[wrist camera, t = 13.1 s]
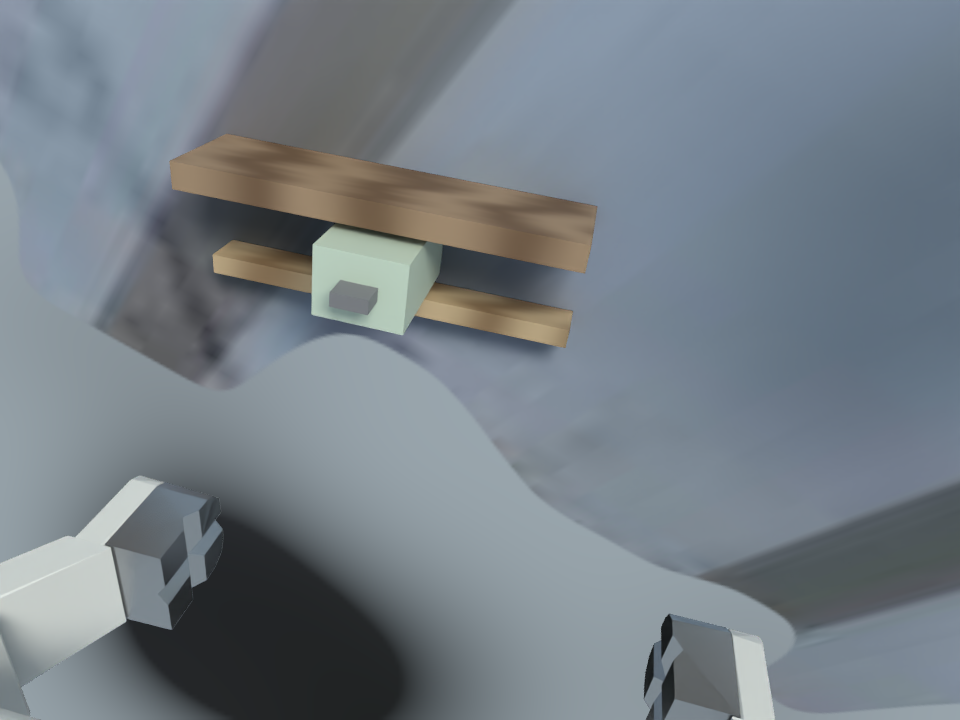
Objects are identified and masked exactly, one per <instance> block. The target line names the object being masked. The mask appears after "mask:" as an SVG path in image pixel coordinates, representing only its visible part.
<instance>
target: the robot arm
mask: <svg viewBox="0 0 960 720" xmlns="http://www.w3.org/2000/svg"><path fill="white" fill-rule="evenodd" d="M220 513H221V508H220V501H219V498H216V497H214V496H211V495H208V494H204V493H201V492H197V491H194V490H190V489H187V488H184V487H180V486H176V485H173V484H170V483H166V482H162V481H158V480H155V479H151V478H147V477H144V476H138V477H135V478H133V479H131V480H130V481H129V482H128V483H127V484H126V485H125V486H124V487H123V488H122V489H121V490H120V491H119V492H118V493H117V494H116V496H114V497H113V498H112V499H111V501H110V502H109V503H108V504H107V505H106V506H105V507H104V508H103V509H102V510H101V511H100V512H99V513H98V514H97V515H96V516H95V517H94V518H93V519H92V520H91V521H90V522H89V523H88V524H87V525H86V526H85V527H84V528H83V530H82V531H81V532H80V533H79V534H78V535H77V536H76V537H71V536H65V537H63V538H60V539H58V540H55V541H53V542H50V543H48V544H46V545H43V546H41V547H38V548H36V549H34V550H31V551H29V552H26V553H24V554H21V555H19V556H17V557H14V558H12V559H9V560H7V561H4V562H2V563H0V720H39V719H36V718H33V717H30V710H29V707H28V705H27V702H26V699H25V697H24V694H23V691H22V689H21V687H22V686H24V685H25V684H27V683H29V682H30V681H32V680H33V679H35V678H37V677H38V676H40V675H42V674H43V673H44V672H46V671H48V670H50V669H51V668H53V667H54V666H56V665H58V664H59V663H61V662H62V661H64V660H65V659H67V658H69V657H70V656H72V655H73V654H75V653H77V652H78V651H80V650H81V649H83V648H85V647H86V646H88V645H89V644H91V643H92V642H94V641H95V640H97V639H99V638H100V637H102V636H104V635H105V634H107V633H109V632H110V631H112V630H113V629H115V628H117V627H118V626H120V625H121V624H123V623H124V622H126V619H130V620H135V621H139V622H142V623H146V624H150V625H155V626H158V627H163V628H166V629H171V630H172V629H173V628H174V626H175V625H176V623H177V622H178V620H179V619H180V618H181V616H182V615H183V613H184V611H185V610H186V609H187V607H188V606H189V605H190V603H191V602H192V600H193V595H192V587H194V586H196V585H198V584H199V583H201V582H204V581H205V580H207V579H208V577H209V576H210V574H211V573H212V571H213V570H214V568H215V566H216V564H217V561H218V559H219V556H220V554H221V551H222V545H223V529H222V528H221V527H220V525H219V524H218V523H217V522H216V518H217V517H218V515H219V514H220ZM645 673H646V674H645V683H644V700H645V702H646V704H647V705H648V707H649V708H650V711H649V714H648V716H647V718H646V720H775V715H774V708H773V702H772V696H771V690H770V684H769V678H768V672H767V665H766V659H765V653H764V647H763V642H762V641H761V639H760V637H759V636H755V635H751V634H747V633H743V632H739V631H735V630H731V629H727V628H725V627H721V626H717V625H713V624H709V623H705V622H701V621H697V620H693V619H689V618H685V617H681V616H677V615H673V614H668V616H667V617H665V620H664V622H663V624H662V626H661V641H659V642H656V643H654V645H653V648H652V650H651V653H650V655H649V659H648V664H647V669H646V672H645Z"/></svg>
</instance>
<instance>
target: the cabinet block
mask: <svg viewBox="0 0 960 720" xmlns="http://www.w3.org/2000/svg"><path fill="white" fill-rule="evenodd" d="M442 249H443V244H438V243H433V242H429V241H424V240H419V239H414V238H409V237H404V236H399V235H394V234H389V233H385V232H380V231H375V230H370V229H365V228H360V227H355V226H350V225H345V224H341V223H335V224H334V225H333V226H332V227H331V228H330V229H329V230H328V231H327V232H326V233H324V234H323V235H322V236H321V237H320V238H319V239H318V240H317V241H316V242H315V243H314V244H313V255H312V311H311V315H315V316H319V317H324V318H328V319H333V320H337V321H341V322H346V323H350V324H355V325H359V326H364V327H368V328H373V329H377V330H381V331H386V332H390V333H395V334H399V335H403V334H404V333H405V331H406V329H407V328H408V326H409V324H410V323H411V321H412V319H413V317H414V316H415V314H416V312H417V311H418V309H419V307H420V306H421V304H422V302H423V301H424V299H425V297H426V296H427V294H428V292H429V291H430V289H431V287H432V285H433V284H434V282H435V280H436V279H437V277H438V275H439V273H440V265H441V257H442Z"/></svg>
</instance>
